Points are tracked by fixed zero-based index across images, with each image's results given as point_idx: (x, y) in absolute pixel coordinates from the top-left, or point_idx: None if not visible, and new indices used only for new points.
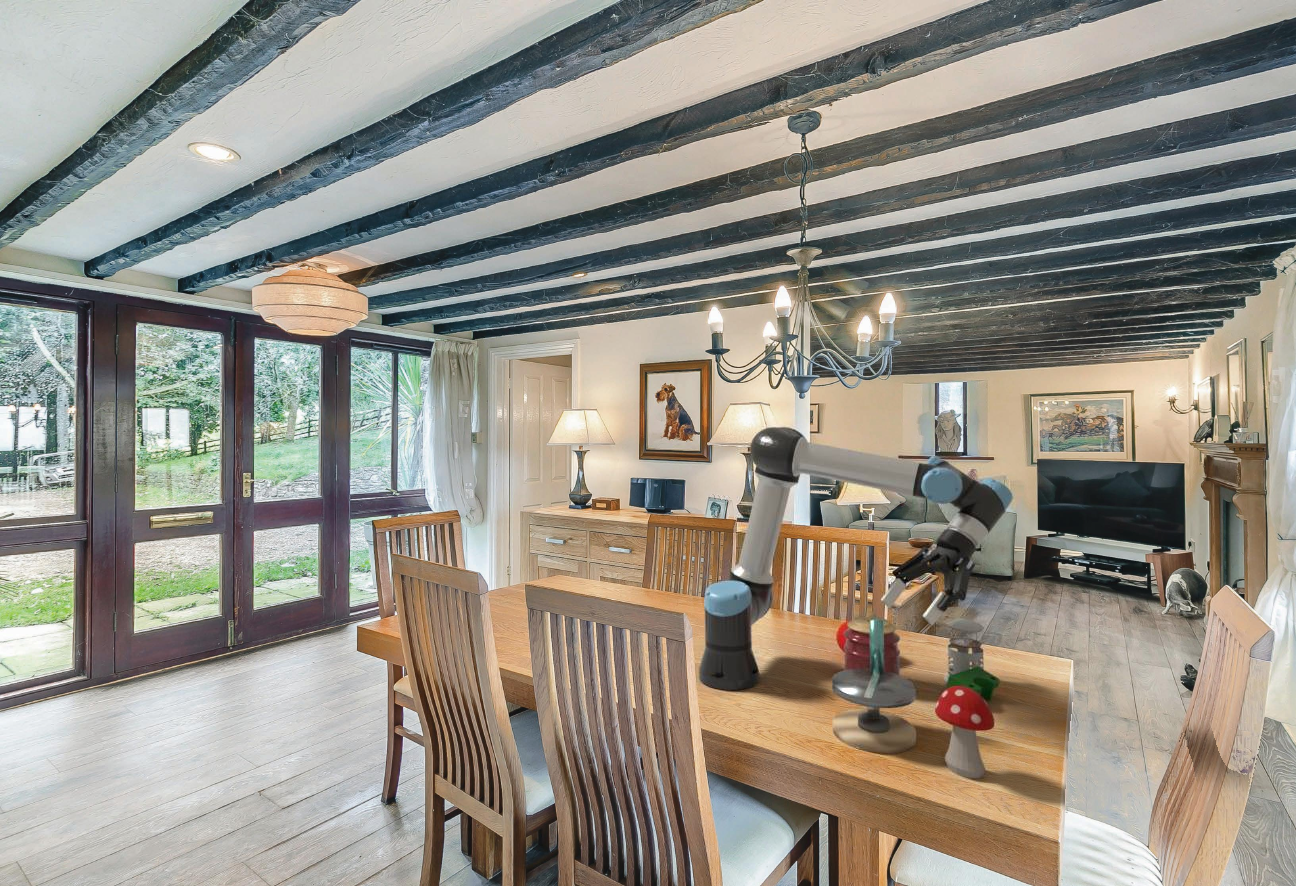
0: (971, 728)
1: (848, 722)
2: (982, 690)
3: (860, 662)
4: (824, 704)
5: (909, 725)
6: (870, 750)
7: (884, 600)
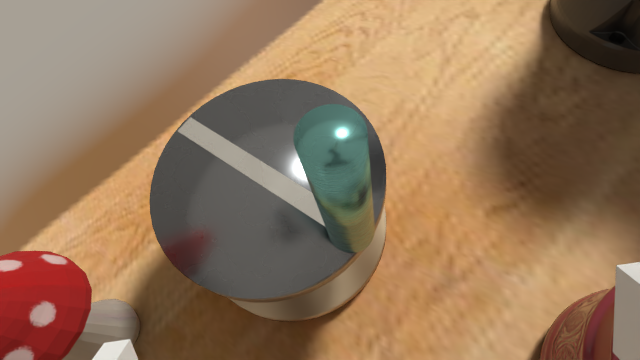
0: None
1: None
2: None
3: (599, 299)
4: (460, 178)
5: (275, 310)
6: None
7: (625, 285)
